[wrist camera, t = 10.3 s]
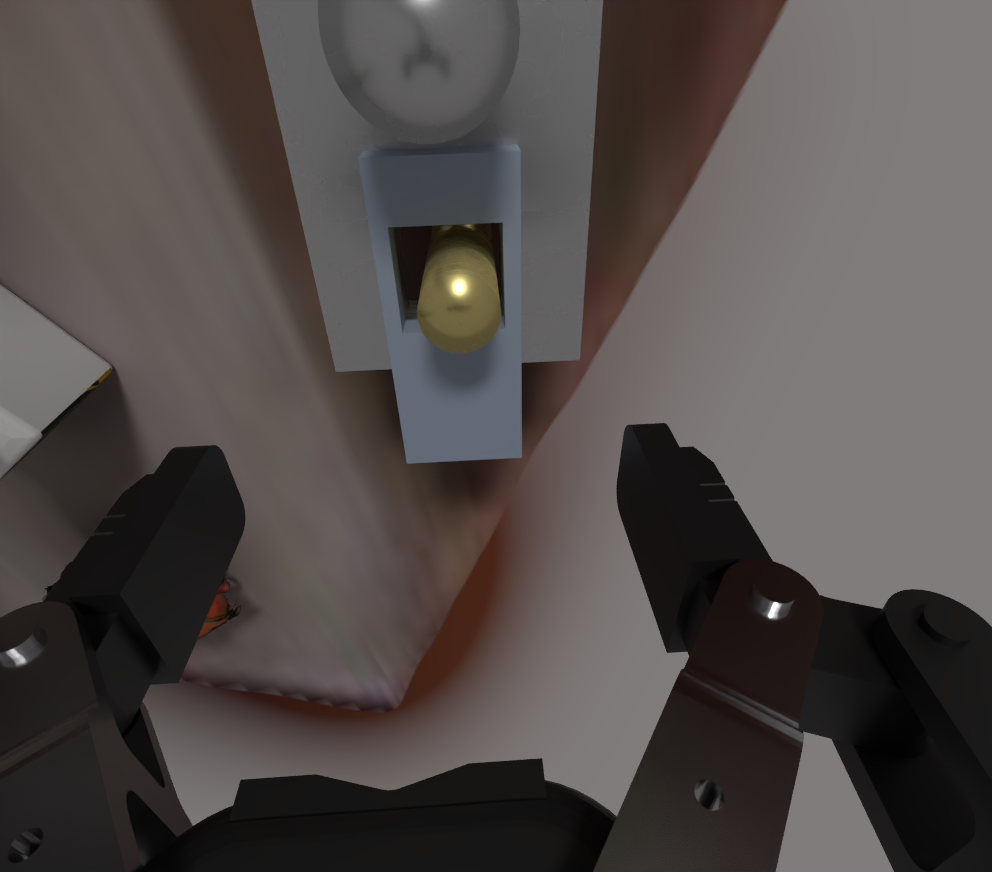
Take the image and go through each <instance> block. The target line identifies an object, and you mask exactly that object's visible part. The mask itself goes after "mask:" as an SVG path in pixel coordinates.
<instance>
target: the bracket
mask: <svg viewBox="0 0 992 872" xmlns="http://www.w3.org/2000/svg"><path fill="white" fill-rule="evenodd" d="M358 161H359V167H360V173H361V179H362V186H363V192H364V198H365V204H366V211H367V217H368V223H369V229H370V236H371V242H372V248H373V254H374V261H375V267H376V273H377V279H378V286H379V292H380V298H381V304H382V311H383V317H384V323H385V329H386V336H387V342H388V348H389V354H390V361H391V367H392V373H393V379H394V386H395V392H396V398H397V404H398V411H399V417H400V423H401V429H402V436H403V442H404V448H405V454H406V461H407V464H408V463H427V462H447V461H466V460H485V459H505V458H522V361H521V151H520V149H519V147H518V145H505V146H481V147H457V148H433V149H409V150H385V151H364V152H363V153H362V154H361V155H360V156H359V157H358ZM478 223H501V238H502V278H503V316H501V321H500V325H499V328H498V330H497V332H496V334H495V335H494V337H493V338H492V339H491V340H490V341H489V342H488V343H487V344H486V345H484V346H483V347H481V348H479V349H477V350H475V351H472V352H467V353H453V352H448V351H445V350H442V349H440V348H438V347H437V346H435V345H434V344H432V343H431V342H430V341H429V340H428V339H427V338H426V337H425V335H424V334H423V332H422V330H421V328H420V326H419V323H418V320H405V313H404V306H403V298H402V291H401V284H400V276H399V269H398V262H397V254H396V247H395V240H394V232H393V227H410V226H433V225H456V224H478Z"/></svg>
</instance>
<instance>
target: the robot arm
mask: <svg viewBox="0 0 992 872" xmlns="http://www.w3.org/2000/svg"><path fill="white" fill-rule="evenodd" d="M617 503H618V509H619V512H620V516H621V519H622V522H623V525H624V528H625V530H626V534H627V537H628V540H629V543H630V546H631V548H632V551H633V554H634V557H635V560H636V563H637V566H638V569H639V572H640V575H641V578H642V581H643V584H644V587H645V590H646V592H647V596H648V598H649V601H650V604H651V607H652V610H653V613H654V616H655V619H656V622H657V625H658V628H659V631H660V634H661V637H662V640H663V643H664V645H665V648H666V651H667V653H672V652H688V654H689V659H688V661H687V663H686V665H685V667H684V669H682V670H681V671H680V673H679V675H678V677H677V679H676V682H675V684H674V686H673V689H672V691H671V693H670V695H669V698H668V700H667V702H666V705H665V707H664V709H663V711H662V714H661V716H660V718H659V721H658V723H657V725H656V728H655V730H654V732H653V735H652V737H651V739H650V741H649V744H648V746H647V748H646V751H645V753H644V755H643V758H642V760H641V762H640V765H639V767H638V769H637V772H636V774H635V776H634V778H633V781H632V783H631V785H630V788H629V790H628V792H627V795H626V797H625V799H624V802H623V804H622V806H621V808H620V811H619V813H618V816H617V817H616V816H615V815H614V814H613V813H612V812H611V811H610V810H608V809H606V808H605V807H604V806H602V805H601V804H600V803H598V802H597V801H595V800H594V799H592V798H590V797H588V796H587V795H584V794H583V793H581V792H579V791H577V790H575V789H572V788H569V787H567V786H564V785H562V784H559V783H555V782H550V781H546V780H545V779H544V772H543V762H542V758H541V759H527V760H513V761H501V762H500V761H499V762H485V763H471V764H467V765H464V766H461V767H458V768H455V769H453V770H450V771H447V772H445V773H442V774H439V775H436V776H433V777H431V778H427V779H425V780H422V781H419V782H416V783H414V784H411V785H408V786H405V787H402V788H400V789H396V790H389V791H388V790H381V789H377V788H372V787H368V786H364V785H359V784H355V783H351V782H346V781H342V780H338V779H333V778H329V777H324V776H320V775H303V776H288V777H274V778H261V779H247V780H241V781H240V784H239V788H238V791H237V795H236V798H235V802H234V805H233V806H231V807H228V808H226V809H224V810H222V811H219V812H217V813H215V814H213V815H211V816H209V817H207V818H206V819H204V820H202V821H201V822H199V823H197V824H196V825H194V826H192V824H191V822H190V820H189V818H188V817H187V815H186V813H185V812H184V809H183V808H182V806H181V804H180V801H179V799H178V797H177V794H176V791H175V789H174V786H173V783H172V780H171V777H170V774H169V771H168V769H167V765H166V762H165V759H164V757H163V754H162V751H161V748H160V745H159V742H158V739H157V736H156V733H155V730H154V728H153V725H152V721H151V719H150V716H149V713H148V710H147V708H146V706H145V705H144V703H143V702H142V700H143V698H144V696H145V694H146V692H147V690H148V688H149V685H151V684H164V683H165V684H166V683H178V682H179V680H180V678H181V676H182V673H183V671H184V669H185V666H186V664H187V662H188V659H189V657H190V655H191V652H192V650H193V648H194V645H195V643H196V641H197V638H198V636H199V634H200V632H201V629H202V627H203V625H204V622H205V620H206V618H207V615H208V613H209V611H210V608H211V606H212V604H213V601H214V599H215V597H216V594H217V592H218V590H219V587H220V585H221V583H222V581H223V578H224V576H225V574H226V571H227V569H228V567H229V564H230V562H231V560H232V557H233V555H234V553H235V550H236V548H237V546H238V543H239V541H240V539H241V537H242V534H243V531H244V526H245V509H244V504H243V501H242V499H241V496H240V493H239V491H238V488H237V486H236V483H235V481H234V478H233V476H232V473H231V471H230V468H229V466H228V463H227V461H226V458H225V456H224V453H223V452H222V450H221V449H220V448H219V447H218V446H216V445H211V446H191V447H175V448H173V449H172V450H170V452H169V453H168V454H167V456H166V457H165V459H164V460H163V462H162V463H161V464H160V466H159V467H158V469H157V470H156V472H155V473H154V474H148V475H146V476H144V477H143V478H142V479H140V480H139V481H138V482H137V483H135V484H134V485H133V486H131V487H130V488H129V489H127V490H126V491H125V492H124V493H122V495H121V496H120V497H119V499H118V500H117V501H116V503H115V504H114V506H113V507H112V508H111V510H110V511H109V512H108V514H107V516H108V517H107V518H104V519H103V521H102V522H101V523H100V525H99V526H98V527H97V529H96V530H95V531H94V532H95V535H94V536H91V537H90V538H89V540H88V541H87V542H86V544H85V545H84V547H83V548H82V549H81V551H80V552H79V553H78V555H77V556H76V557H75V559H74V560H73V562H72V563H71V564H70V566H69V567H68V568H67V570H66V571H65V572H64V574H63V575H62V577H61V578H60V579H59V581H58V582H57V583H56V585H55V586H54V587H53V589H52V590H51V592H50V593H49V594H48V596H47V597H46V598H45V600H44V601H43V602H39V603H35V604H31V605H27V606H24V607H22V608H19V609H17V610H14V611H12V612H10V613H8V614H6V615H4V616H3V617H1V618H0V872H776V868H777V863H778V859H779V854H780V849H781V845H782V840H783V836H784V831H785V826H786V821H787V817H788V813H789V808H790V804H791V799H792V794H793V790H794V785H795V781H796V776H797V772H798V767H799V762H800V757H801V752H802V747H803V739H804V734H803V731H804V732H808V733H811V734H815V735H819V736H823V737H827V738H831V739H832V741H833V743H834V745H835V747H836V749H837V752H838V754H839V756H840V758H841V760H842V762H843V764H844V766H845V769H846V771H847V773H848V775H849V777H850V779H851V781H852V783H853V785H854V788H855V790H856V791H857V794H858V796H859V798H860V800H861V802H862V805H863V807H864V809H865V811H866V813H867V815H868V817H869V819H870V821H871V824H872V826H873V828H874V830H875V832H876V834H877V836H878V838H879V840H880V843H881V845H882V847H883V849H884V851H885V853H886V855H887V857H888V859H889V862H890V864H891V866H892V868H893V870H894V872H992V627H991V626H990V625H989V624H988V623H987V622H986V621H985V620H984V619H983V618H982V617H980V616H979V615H978V614H977V613H975V612H974V611H972V610H971V609H970V608H968V607H966V606H965V605H963V604H961V603H959V602H957V601H955V600H953V599H951V598H949V597H946V596H944V595H941V594H938V593H934V592H931V591H925V590H914V589H911V590H903V591H900V592H897V593H895V594H893V595H892V596H891V597H890V598H889V599H888V601H887V603H886V604H885V606H884V607H883V609H880V608H874V607H869V606H865V605H859V604H855V603H850V602H845V601H840V600H835V599H831V598H827V597H824V596H821V595H819V594H818V592H817V591H816V589H815V588H814V587H813V586H812V584H811V583H810V582H809V581H808V580H807V579H806V578H804V577H803V576H802V575H800V574H799V573H798V572H796V571H794V570H793V569H791V568H789V567H787V566H784V565H782V564H779V563H776V562H773V561H772V559H771V557H770V556H769V554H768V552H767V551H766V549H765V547H764V546H763V544H762V542H761V541H760V539H759V537H758V536H757V534H756V533H755V531H754V529H753V527H752V526H751V524H750V523H749V521H748V519H747V517H746V516H745V514H744V512H743V511H742V509H741V507H740V506H739V504H738V502H737V501H735V500H734V496H733V494H732V492H731V491H730V489H729V488H728V486H727V485H725V481H724V479H723V477H722V476H721V474H720V473H719V471H718V469H717V468H716V466H715V464H714V463H713V462H712V461H711V460H710V459H708V458H707V457H706V456H705V455H703V454H702V453H701V452H699V451H698V450H697V449H696V448H694V447H679V445H678V444H677V442H676V440H675V438H674V436H673V434H672V432H671V431H670V429H669V427H668V426H667V424H665V423H658V424H639V425H638V424H637V425H627V426H626V428H625V431H624V436H623V443H622V450H621V457H620V465H619V472H618V479H617Z"/></svg>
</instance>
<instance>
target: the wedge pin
mask: <svg viewBox="0 0 992 872" xmlns="http://www.w3.org/2000/svg"><path fill="white" fill-rule="evenodd" d="M417 318H418V323H419V326H420V328H421V330H422V332H423V334H424V335H425V337H426V338H427V339H428V340H429V341H430V342H431V343H432V344H434V345H435V346H437V347H438V348H440V349H442V350H445V351H448V352H453V353H467V352H472V351H475V350H477V349H479V348H481V347H483V346H484V345H486V344H487V343H488V342H489V341H490V340H491V339H492V338H493V337H494V335H495V334H496V332H497V330H498V328H499V325H500V321H501V307H500V299H499V291H498V283H497V275H496V267H495V259H494V251H493V243H492V235H491V227H490V223H478V224H456V225H433V226H432V230H431V236H430V241H429V247H428V252H427V258H426V263H425V269H424V274H423V280H422V285H421V291H420V296H419V302H418V307H417Z"/></svg>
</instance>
